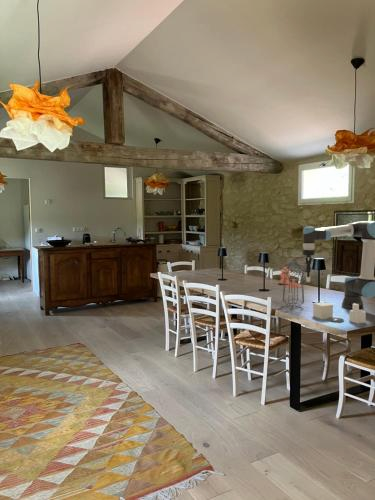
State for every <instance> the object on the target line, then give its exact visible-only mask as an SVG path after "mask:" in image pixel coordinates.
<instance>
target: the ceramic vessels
mask: <svg viewBox="0 0 375 500" xmlns="http://www.w3.org/2000/svg"><path fill="white" fill-rule="evenodd" d="M283 267H284V266H283ZM287 267H288V266H286V267H284V268H287ZM282 270H283V269H282ZM282 270H281V269H280V272H281V273H280V274H279V277H280V281H279V283H280V285H284V287H285V288H287V289H289V279H288V280H286V283H285V282H284V273H283V272H284V271H285V270H286V269H285V270H283V271H282ZM287 270H288V269H287ZM289 272H291V271H289ZM289 272H288V274H285V278H288V277H289V278H291V273H289ZM285 273H287V272H286V271H285ZM286 275H288V276H287V277H286ZM292 280H296V279H295V278H293V279H292ZM294 284H295V289H297V282H296V281H292V287H291V282H290V289H294ZM298 289H303V286H302V285H300V284H298Z"/></svg>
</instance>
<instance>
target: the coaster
mask: <svg viewBox="0 0 375 500" xmlns="http://www.w3.org/2000/svg"><path fill="white" fill-rule="evenodd" d="M327 321H328V322H333V323H344V321H345V320H344V318H341V317H335V316H333V317H330V318H328V319H327Z"/></svg>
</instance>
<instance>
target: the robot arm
mask: <svg viewBox="0 0 375 500" xmlns="http://www.w3.org/2000/svg"><path fill="white" fill-rule="evenodd" d="M302 229H303V231H302V244H301V245H302V248H303V250H302V255H304V256H306V257H305V265H306V267H305V268H306V271H305V272H304V273H305V282H306V283H311V270H312V267H311V265H312V257H311V256H315V251H316V250H315V248H316V246H315V245H316V244H315V243H316V242H315V241H329V240H331V238H335V237H346V236H347V237H359V238H360V237H361V238H360V240H361V241H362V254H361V265H360V275H359V276H347V277H345V278H344V293H343V294H344V297H343V300H342V302H341V308H344V309H348V310H353V304H354V303H360V304H362V305H363V309H364V305H365V304H364V303H363V302H364V301H363V299H362V297H363V298H368V299H371V298H374V297H375V276H374V274H375V220H361V221H360V220H359V221H354V222H351V223H346V224H344V225H336V226H327V227H325V226H324V227H318V228H316V227H315V226H304V227H303V228H302Z"/></svg>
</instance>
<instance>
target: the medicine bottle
mask: <svg viewBox="0 0 375 500" xmlns="http://www.w3.org/2000/svg"><path fill="white" fill-rule="evenodd" d="M363 305H364V304H363ZM363 305H362V304H360V303H354V304H353V309H349V312H348V321H349V322H350V323H353V324H354V323H355V324H364V323H366V317H367V316H366V314H367V313H366V311H365V310H364V308H363Z"/></svg>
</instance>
